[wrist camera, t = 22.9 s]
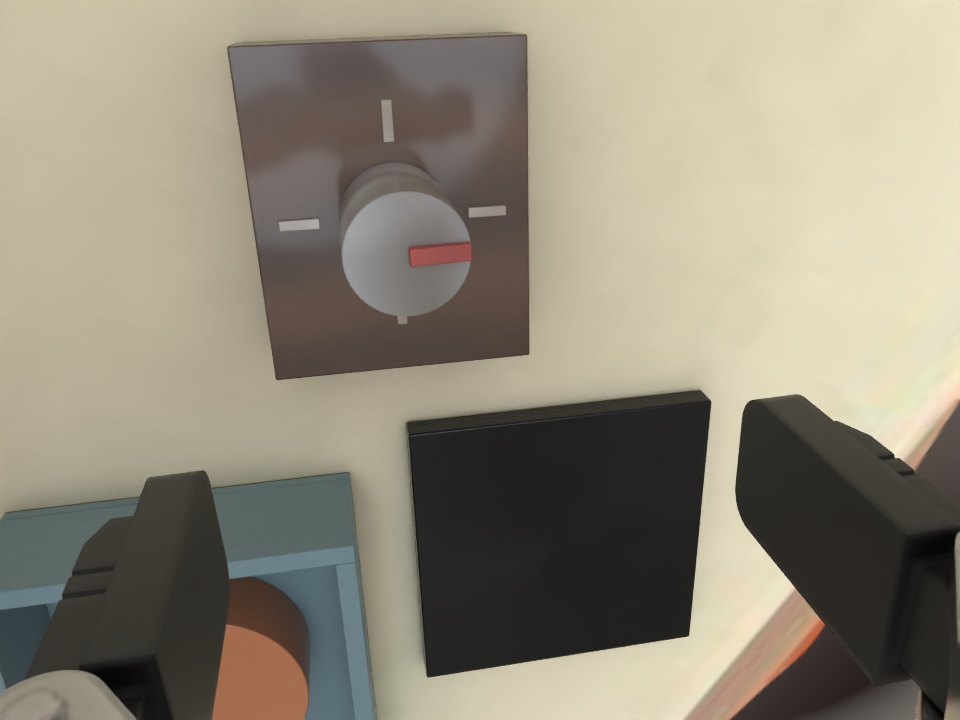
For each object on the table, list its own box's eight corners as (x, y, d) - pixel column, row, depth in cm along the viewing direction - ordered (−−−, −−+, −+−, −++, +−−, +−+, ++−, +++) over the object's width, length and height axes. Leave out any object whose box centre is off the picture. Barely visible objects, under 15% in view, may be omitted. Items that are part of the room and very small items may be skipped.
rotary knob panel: (235, 42, 29) (226, 46, 26) (509, 31, 30) (528, 34, 28) (279, 350, 34) (275, 382, 31) (513, 328, 35) (530, 356, 32)
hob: (405, 421, 36) (408, 434, 35) (701, 389, 38) (712, 400, 37) (424, 661, 42) (426, 678, 41) (680, 621, 44) (689, 636, 43)
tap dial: (345, 275, 30) (350, 327, 25) (331, 166, 28) (333, 199, 23) (452, 264, 30) (476, 313, 26) (445, 157, 29) (469, 186, 24)
